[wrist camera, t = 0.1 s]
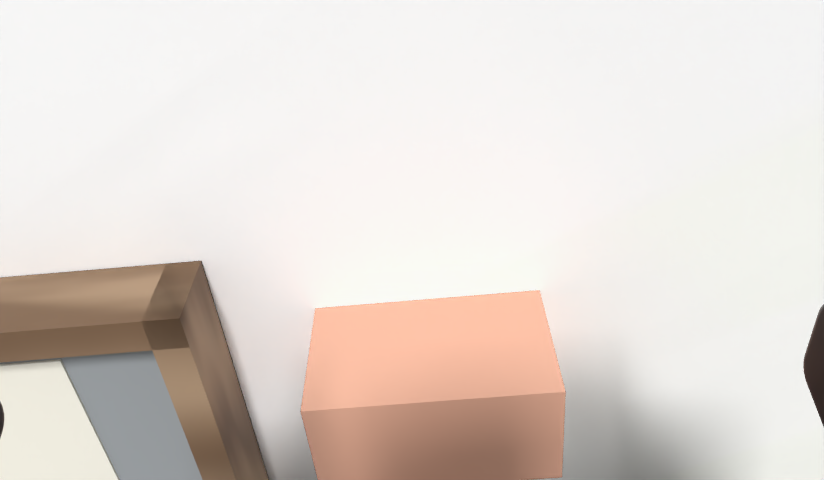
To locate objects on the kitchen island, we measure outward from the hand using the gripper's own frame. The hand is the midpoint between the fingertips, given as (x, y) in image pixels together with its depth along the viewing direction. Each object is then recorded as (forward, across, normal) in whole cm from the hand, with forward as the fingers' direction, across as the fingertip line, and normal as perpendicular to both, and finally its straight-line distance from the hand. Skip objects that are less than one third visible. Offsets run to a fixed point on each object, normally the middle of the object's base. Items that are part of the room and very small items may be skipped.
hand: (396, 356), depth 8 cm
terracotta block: (+15, 0, +13) cm, 20 cm away
